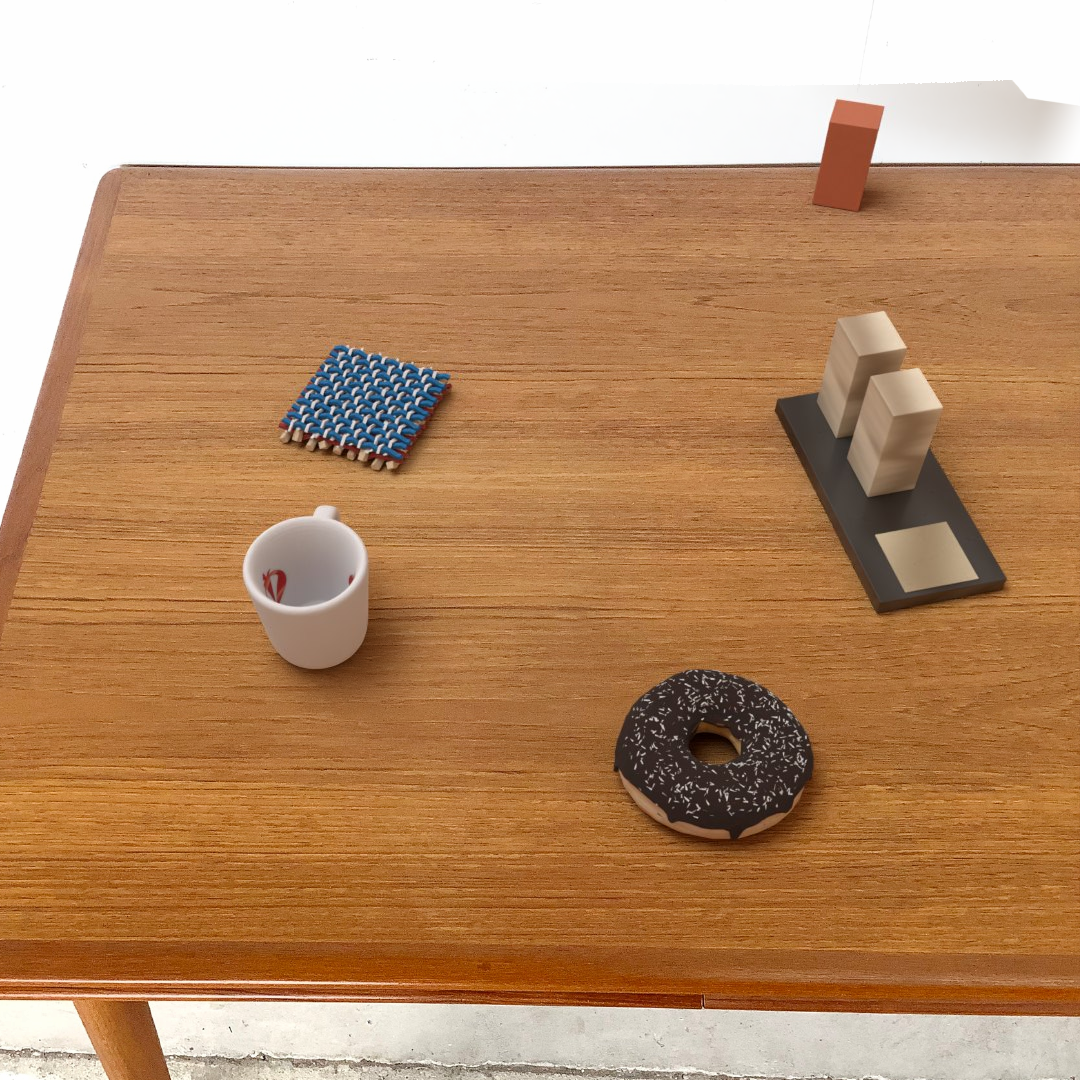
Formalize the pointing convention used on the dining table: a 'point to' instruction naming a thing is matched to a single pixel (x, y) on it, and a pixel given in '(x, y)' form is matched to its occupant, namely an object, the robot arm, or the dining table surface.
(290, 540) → the cup
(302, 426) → the woven mat
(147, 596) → the dining table surface
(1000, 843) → the dining table surface
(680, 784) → the donut
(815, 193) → the terracotta rectangular block
